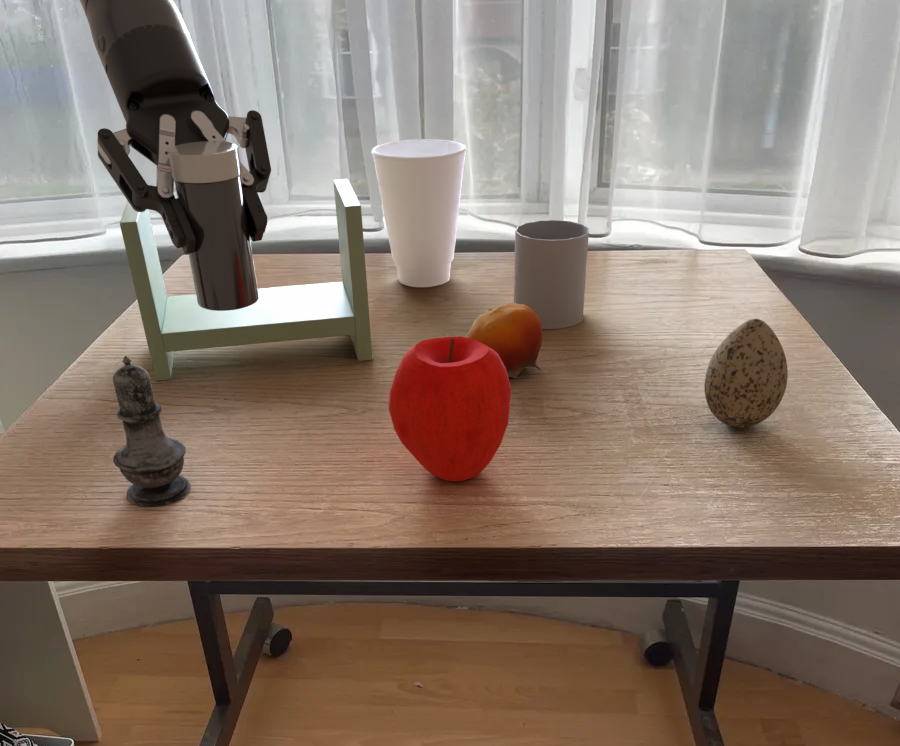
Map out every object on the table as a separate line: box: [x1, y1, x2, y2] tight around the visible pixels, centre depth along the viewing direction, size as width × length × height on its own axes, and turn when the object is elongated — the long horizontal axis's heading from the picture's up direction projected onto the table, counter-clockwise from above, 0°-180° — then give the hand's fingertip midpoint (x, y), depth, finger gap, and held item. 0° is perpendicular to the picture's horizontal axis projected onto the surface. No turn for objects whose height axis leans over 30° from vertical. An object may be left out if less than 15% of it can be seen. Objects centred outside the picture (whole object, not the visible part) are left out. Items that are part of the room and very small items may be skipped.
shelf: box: [119, 178, 374, 382], centre depth 97 cm, size 23×12×16 cm, turn 101°
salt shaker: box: [112, 355, 191, 508], centre depth 73 cm, size 6×6×12 cm
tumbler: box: [167, 141, 259, 311], centre depth 74 cm, size 5×5×12 cm
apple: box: [388, 335, 512, 482], centre depth 74 cm, size 10×10×12 cm
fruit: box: [466, 302, 543, 380], centre depth 94 cm, size 8×8×8 cm
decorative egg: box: [703, 318, 789, 429], centre depth 81 cm, size 7×7×10 cm
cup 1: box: [371, 138, 468, 288], centre depth 116 cm, size 12×12×16 cm
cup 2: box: [513, 219, 590, 330], centre depth 105 cm, size 8×8×10 cm
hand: (224, 241), depth 73 cm, fingers closed on tumbler, 5 cm apart
